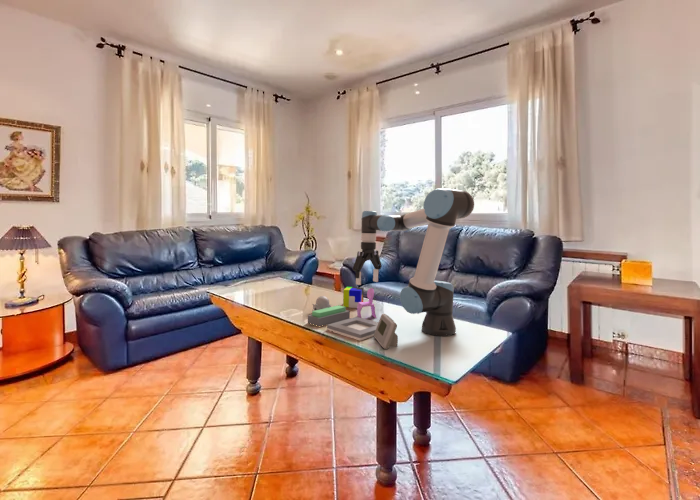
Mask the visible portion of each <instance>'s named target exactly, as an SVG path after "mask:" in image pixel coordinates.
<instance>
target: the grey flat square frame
mask: <svg viewBox="0 0 700 500" xmlns="http://www.w3.org/2000/svg"><path fill="white" fill-rule="evenodd" d="M378 323H379V321H378V322H377V321H374V320H370V319H368V318H363V317H362V318H359V317H358V316H355V317H351V318H350V319H346V320H343V321H339V322H335V323H332V324H328V325H326V331H328V330H330V331H329V332H331V331H333V332H332V333H335V334H338V335H341V336H344V337H347V338H350V339H354V340H357V341H360V342H361V341H363V340H366V339H369V338H372V337H374V333H375V330H376V328H377V325H378Z"/></svg>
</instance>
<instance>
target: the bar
mask: <svg viewBox="0 0 700 500" xmlns="http://www.w3.org/2000/svg"><path fill="white" fill-rule="evenodd" d="M346 308H347V307H344V306H343V305H334V306H331V307H329V308H324V309H320V310H315V311H312V310H311V314H312V316H315V317H318V318H320V317H324V316H328V315H332V314H336V313H340V312H344V311H346V310H347V309H346Z"/></svg>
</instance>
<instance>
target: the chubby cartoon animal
mask: <svg viewBox="0 0 700 500" xmlns="http://www.w3.org/2000/svg"><path fill="white" fill-rule="evenodd" d="M329 307H332V305H331V304H330V300H329V298H328V297H327V296H325V295H321V296H318V297H317V299H316V301H315V304H314V303H312V310H311V312H312V311H315V310H320V309H324V308H329Z"/></svg>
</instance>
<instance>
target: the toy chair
mask: <svg viewBox="0 0 700 500" xmlns="http://www.w3.org/2000/svg"><path fill="white" fill-rule="evenodd" d="M366 297H367V298H368V301H363V302H358V305H357V308H356V310H357V311H356V313H357V316H356V317H359V318H363V317H362V314H361V313H362V312H361V311H362V309H363V308H364V307H366V308H367V307H370V309H371V316H372V317H374V318H375V319H377V318H378V317H377V313H376V306H375V303H373V302H374V301H373V300H374V297H375V289H374V288H373V287H370V288H368V290H367V293H366Z"/></svg>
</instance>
